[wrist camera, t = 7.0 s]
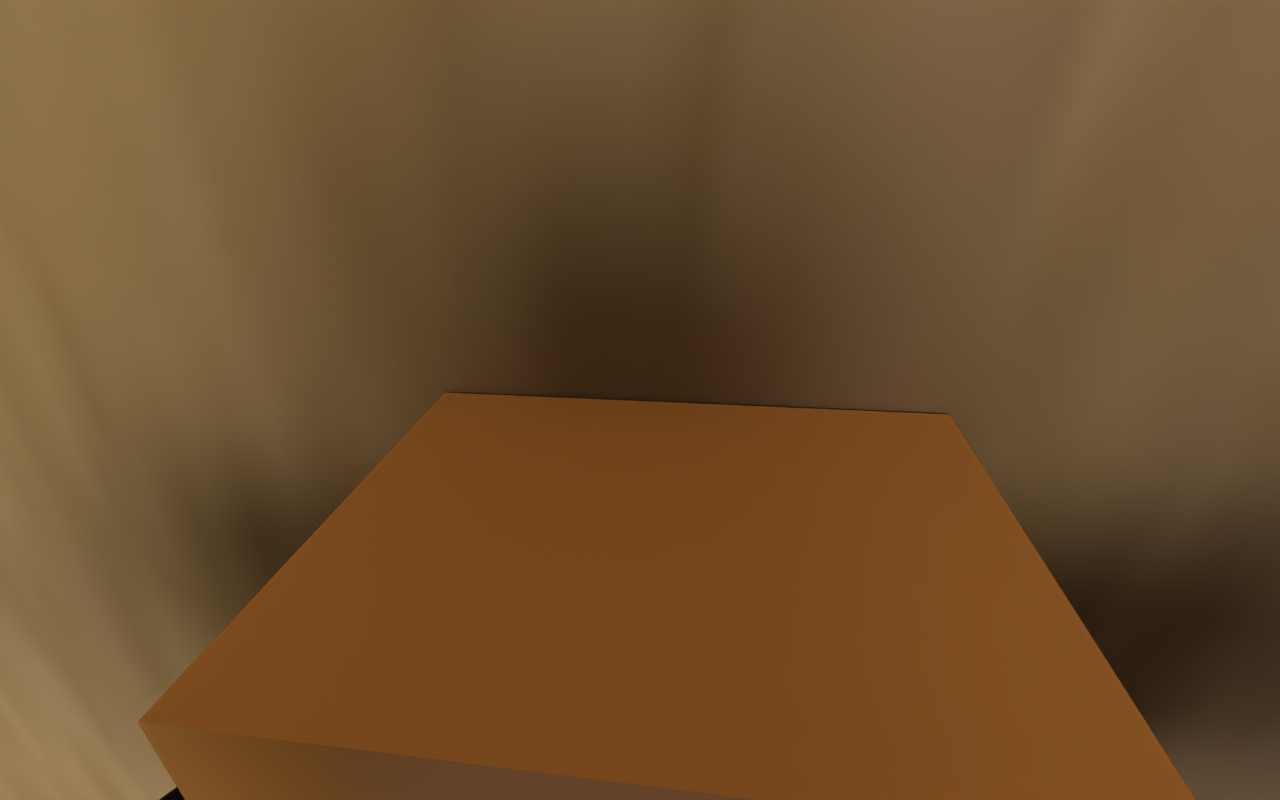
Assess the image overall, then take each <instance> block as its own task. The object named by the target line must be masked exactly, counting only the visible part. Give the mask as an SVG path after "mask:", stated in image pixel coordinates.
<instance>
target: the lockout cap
mask: <svg viewBox="0 0 1280 800" xmlns="http://www.w3.org/2000/svg"><path fill="white" fill-rule="evenodd" d="M138 723H139V725H140V726H141V728H142V730H143V731H144V733H145V735H146V736H147V738H148V740H149V741H150V743H151V744H152V746H153V748H154V749H155V751H156V753H157V754H158V756H159V758H160V759H161V761H162V763H163V764H164V766H165V768H166V769H167V771H168V773H169V774H170V776H171V778H172V779H173V781H174V783H175V784H176V786H177V788H178V789H179V791H180V792H181V794H182V796H183V797H184V799H185V800H1195V798H1194V796H1193V795H1192V793H1191V792H1190V790H1189V789H1188V787H1187V785H1186V784H1185V782H1184V781H1183V779H1182V778H1181V776H1180V774H1179V773H1178V771H1177V770H1176V768H1175V767H1174V765H1173V764H1172V762H1171V760H1170V759H1169V757H1168V756H1167V754H1166V753H1165V751H1164V749H1163V748H1162V746H1161V745H1160V743H1159V742H1158V740H1157V738H1156V737H1155V735H1154V734H1153V732H1152V731H1151V729H1150V727H1149V726H1148V724H1147V723H1146V721H1145V720H1144V718H1143V717H1142V715H1141V713H1140V712H1139V710H1138V709H1137V707H1136V706H1135V704H1134V702H1133V701H1132V699H1131V698H1130V696H1129V695H1128V693H1127V691H1126V690H1125V688H1124V687H1123V685H1122V684H1121V682H1120V680H1119V679H1118V677H1117V676H1116V674H1115V673H1114V671H1113V670H1112V668H1111V666H1110V665H1109V663H1108V662H1107V660H1106V659H1105V657H1104V655H1103V654H1102V652H1101V651H1100V649H1099V648H1098V646H1097V644H1096V643H1095V641H1094V640H1093V638H1092V637H1091V635H1090V633H1089V632H1088V630H1087V629H1086V627H1085V626H1084V624H1083V622H1082V621H1081V619H1080V618H1079V616H1078V615H1077V613H1076V612H1075V610H1074V608H1073V607H1072V605H1071V604H1070V602H1069V601H1068V599H1067V597H1066V596H1065V594H1064V593H1063V591H1062V590H1061V588H1060V586H1059V585H1058V583H1057V582H1056V580H1055V579H1054V577H1053V575H1052V574H1051V572H1050V571H1049V569H1048V568H1047V566H1046V565H1045V563H1044V561H1043V560H1042V558H1041V557H1040V555H1039V554H1038V552H1037V550H1036V549H1035V547H1034V546H1033V544H1032V543H1031V541H1030V539H1029V538H1028V536H1027V535H1026V533H1025V532H1024V530H1023V528H1022V527H1021V525H1020V524H1019V522H1018V521H1017V519H1016V518H1015V516H1014V514H1013V513H1012V511H1011V510H1010V508H1009V507H1008V505H1007V503H1006V502H1005V500H1004V499H1003V497H1002V496H1001V494H1000V492H999V491H998V489H997V488H996V486H995V485H994V483H993V481H992V480H991V478H990V477H989V475H988V474H987V472H986V471H985V469H984V467H983V466H982V464H981V463H980V461H979V460H978V458H977V456H976V455H975V453H974V452H973V450H972V449H971V447H970V445H969V444H968V442H967V441H966V439H965V438H964V436H963V434H962V433H961V431H960V430H959V428H958V427H957V425H956V424H955V422H954V420H953V419H952V417H951V416H950V414H927V413H904V412H881V411H858V410H835V409H812V408H789V407H766V406H743V405H720V404H697V403H674V402H650V401H627V400H604V399H581V398H558V397H535V396H512V395H489V394H466V393H443V395H442V396H441V397H440V398H439V399H438V400H437V401H436V402H435V403H434V404H433V405H432V406H431V407H430V408H429V410H428V411H427V412H426V413H425V414H424V415H423V416H422V417H421V418H420V419H419V420H418V421H417V422H416V424H415V425H414V426H413V427H412V428H411V429H410V430H409V431H408V432H407V433H406V434H405V435H404V436H403V438H402V439H401V440H400V441H399V442H398V443H397V444H396V445H395V446H394V447H393V448H392V449H391V450H390V451H389V453H388V454H387V455H386V456H385V457H384V458H383V459H382V460H381V461H380V462H379V463H378V464H377V465H376V467H375V468H374V469H373V470H372V471H371V472H370V473H369V474H368V475H367V476H366V477H365V478H364V479H363V480H362V482H361V483H360V484H359V485H358V486H357V487H356V488H355V489H354V490H353V491H352V492H351V493H350V494H349V496H348V497H347V498H346V499H345V500H344V501H343V502H342V503H341V504H340V505H339V506H338V507H337V508H336V510H335V511H334V512H333V513H332V514H331V515H330V516H329V517H328V518H327V519H326V520H325V521H324V522H323V523H322V525H321V526H320V527H319V528H318V529H317V530H316V531H315V532H314V533H313V534H312V535H311V536H310V537H309V539H308V540H307V541H306V542H305V543H304V544H303V545H302V546H301V547H300V548H299V549H298V550H297V551H296V552H295V554H294V555H293V556H292V557H291V558H290V559H289V560H288V561H287V562H286V563H285V564H284V565H283V566H282V568H281V569H280V570H279V571H278V572H277V573H276V574H275V575H274V576H273V577H272V578H271V579H270V580H269V582H268V583H267V584H266V585H265V586H264V587H263V588H262V589H261V590H260V591H259V592H258V593H257V594H256V595H255V597H254V598H253V599H252V600H251V601H250V602H249V603H248V604H247V605H246V606H245V607H244V608H243V609H242V611H241V612H240V613H239V614H238V615H237V616H236V617H235V618H234V619H233V620H232V621H231V622H230V623H229V625H228V626H227V627H226V628H225V629H224V630H223V631H222V632H221V633H220V634H219V635H218V636H217V637H216V638H215V640H214V641H213V642H212V643H211V644H210V645H209V646H208V647H207V648H206V649H205V650H204V651H203V652H202V654H201V655H200V656H199V657H198V658H197V659H196V660H195V661H194V662H193V663H192V664H191V665H190V666H189V667H188V669H187V670H186V671H185V672H184V673H183V674H182V675H181V676H180V677H179V678H178V679H177V680H176V681H175V683H174V684H173V685H172V686H171V687H170V688H169V689H168V690H167V691H166V692H165V693H164V694H163V695H162V697H161V698H160V699H159V700H158V701H157V702H156V703H155V704H154V705H153V706H152V707H151V708H150V709H149V710H148V712H147V713H146V714H145V715H144V716H143V717H142V718H141V719H140V720H139V721H138Z"/></svg>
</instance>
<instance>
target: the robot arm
mask: <svg viewBox="0 0 1280 800" xmlns="http://www.w3.org/2000/svg"><path fill="white" fill-rule="evenodd" d="M160 800H185V799H184V797H183V796H182V794H181V792H180V791H179V789H178V788H177V787H176V788H175V789H173V790H172V791H171V792H169V793H168V794H166V795H165V796H164V797H162V798H161V799H160Z"/></svg>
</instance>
